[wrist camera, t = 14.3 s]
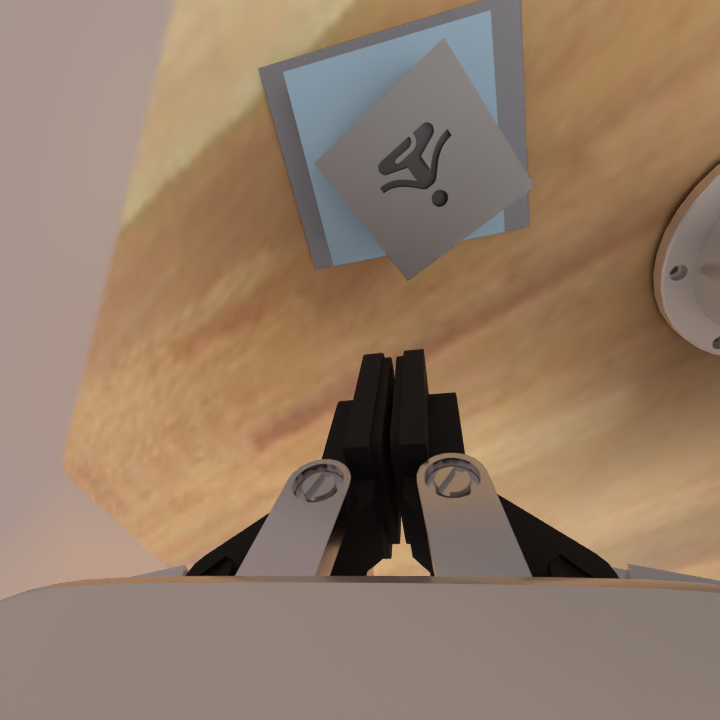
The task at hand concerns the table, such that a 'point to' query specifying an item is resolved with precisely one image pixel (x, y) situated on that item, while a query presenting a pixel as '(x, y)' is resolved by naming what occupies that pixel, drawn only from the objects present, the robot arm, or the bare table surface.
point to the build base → (503, 98)
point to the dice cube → (425, 164)
